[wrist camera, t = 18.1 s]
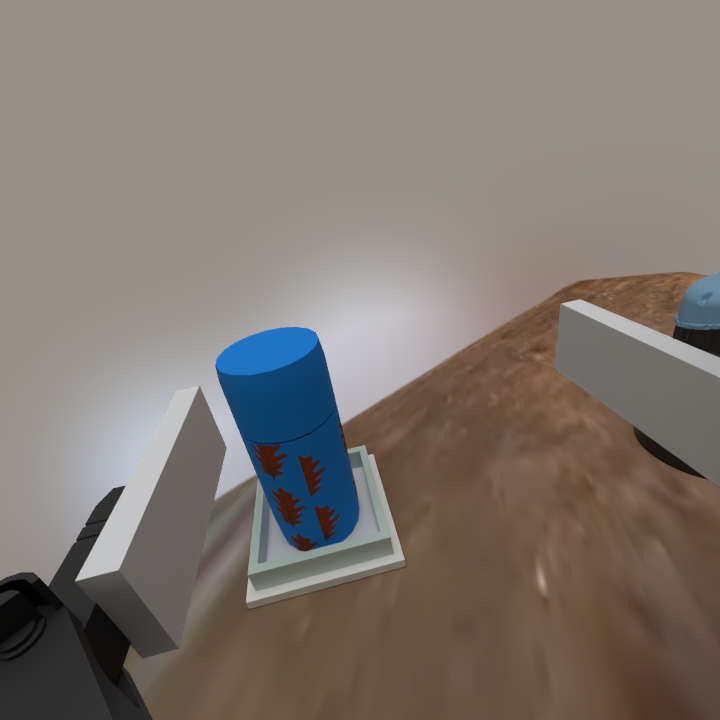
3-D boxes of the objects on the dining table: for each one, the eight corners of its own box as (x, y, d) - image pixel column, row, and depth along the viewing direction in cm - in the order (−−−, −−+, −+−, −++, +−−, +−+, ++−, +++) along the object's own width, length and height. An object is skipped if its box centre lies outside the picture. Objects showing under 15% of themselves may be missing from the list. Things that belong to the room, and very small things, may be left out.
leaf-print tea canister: (308, 477, 55) (259, 325, 44) (373, 493, 51) (338, 327, 39) (264, 540, 47) (189, 372, 35) (337, 565, 42) (279, 381, 31)
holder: (374, 459, 58) (370, 439, 56) (405, 566, 42) (401, 542, 40) (260, 488, 57) (252, 468, 55) (249, 609, 41) (237, 586, 39)
